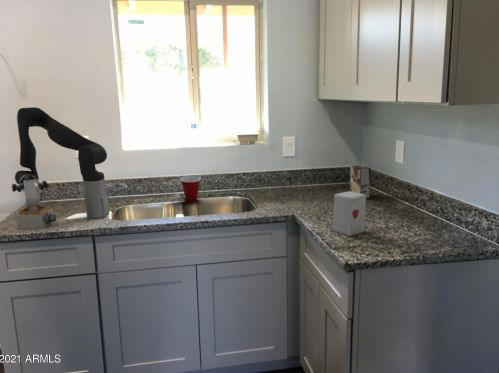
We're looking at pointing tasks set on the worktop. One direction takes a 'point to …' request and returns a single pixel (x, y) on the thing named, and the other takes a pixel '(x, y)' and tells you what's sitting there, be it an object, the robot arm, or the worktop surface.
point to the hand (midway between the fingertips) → (30, 188)
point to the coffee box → (360, 180)
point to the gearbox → (35, 218)
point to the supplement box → (349, 213)
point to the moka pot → (32, 194)
